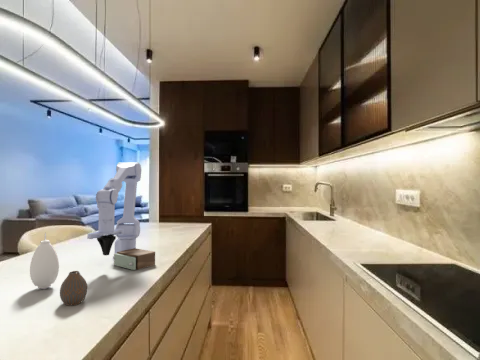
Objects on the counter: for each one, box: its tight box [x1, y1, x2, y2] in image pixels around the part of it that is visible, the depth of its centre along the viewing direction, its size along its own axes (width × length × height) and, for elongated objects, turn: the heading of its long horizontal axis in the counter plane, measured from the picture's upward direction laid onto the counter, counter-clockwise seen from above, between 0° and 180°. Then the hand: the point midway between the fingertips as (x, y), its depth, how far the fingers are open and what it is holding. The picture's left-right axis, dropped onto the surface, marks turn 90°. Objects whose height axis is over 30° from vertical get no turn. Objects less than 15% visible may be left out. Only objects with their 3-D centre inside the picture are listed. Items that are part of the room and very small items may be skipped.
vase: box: [59, 270, 88, 306], centre depth 87 cm, size 7×7×9 cm
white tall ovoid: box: [29, 232, 60, 290], centre depth 99 cm, size 8×8×18 cm
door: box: [113, 253, 137, 271], centre depth 123 cm, size 14×2×5 cm, turn 55°
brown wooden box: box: [117, 247, 156, 271], centre depth 129 cm, size 13×9×6 cm
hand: (106, 254), depth 119 cm, fingers closed
